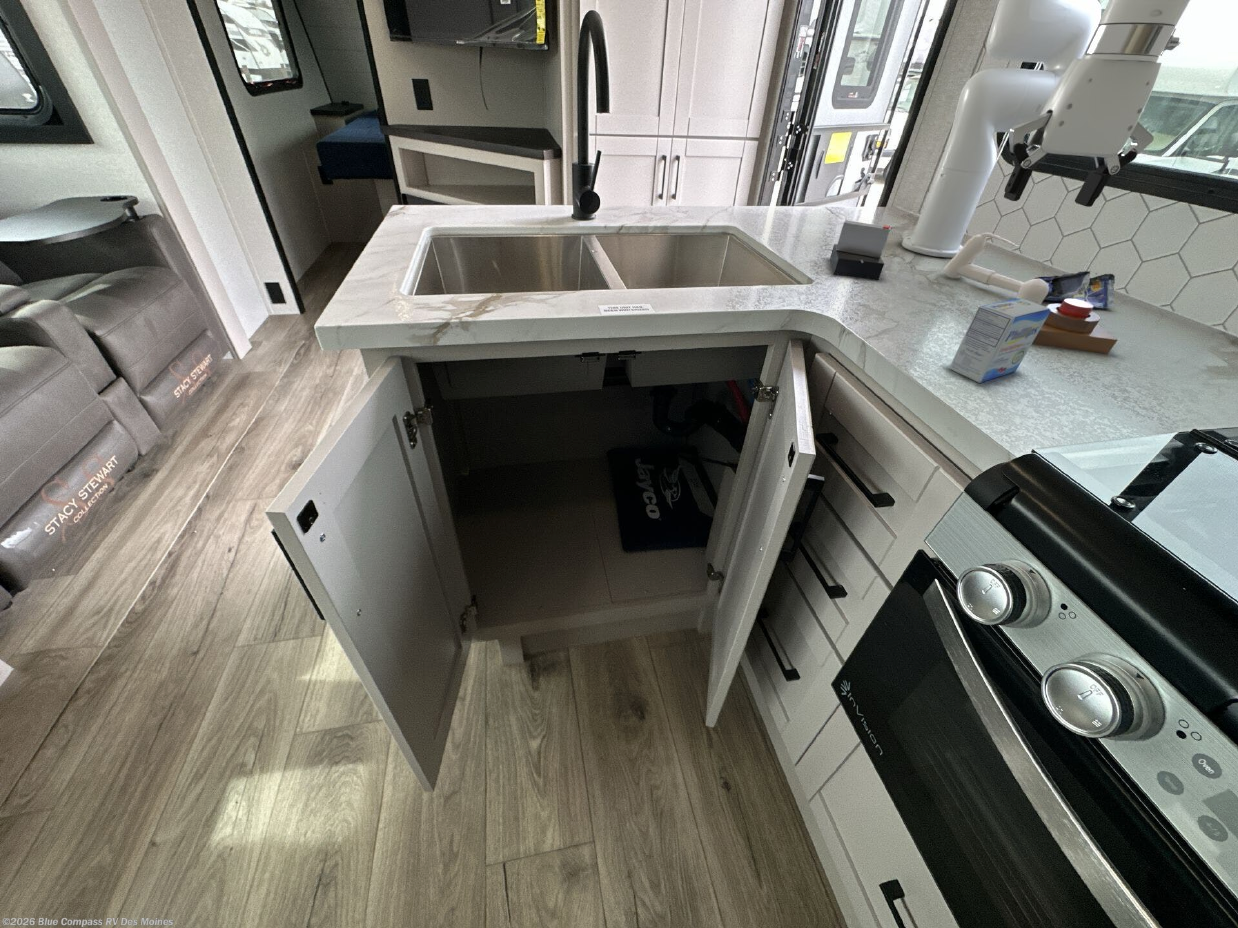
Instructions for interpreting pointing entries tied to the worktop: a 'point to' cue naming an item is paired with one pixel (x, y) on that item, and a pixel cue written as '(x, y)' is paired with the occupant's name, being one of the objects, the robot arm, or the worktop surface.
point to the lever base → (855, 265)
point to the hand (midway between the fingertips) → (1046, 202)
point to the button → (1075, 308)
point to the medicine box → (998, 339)
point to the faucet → (963, 267)
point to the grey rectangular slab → (863, 238)
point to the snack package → (1082, 288)
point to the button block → (1074, 332)
